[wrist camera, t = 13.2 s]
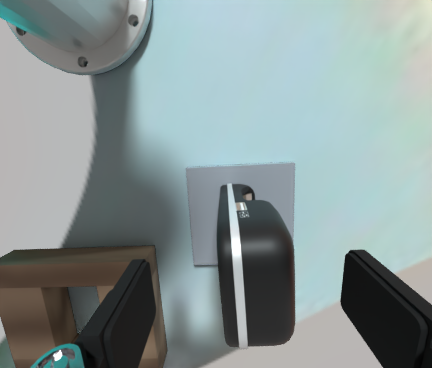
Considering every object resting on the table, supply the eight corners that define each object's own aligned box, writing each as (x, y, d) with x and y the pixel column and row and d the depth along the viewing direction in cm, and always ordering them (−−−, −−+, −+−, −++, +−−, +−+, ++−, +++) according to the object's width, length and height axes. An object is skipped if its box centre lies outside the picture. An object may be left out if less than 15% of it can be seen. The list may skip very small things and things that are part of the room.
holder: (14, 249, 24) (-16, 265, 21) (154, 245, 23) (144, 261, 20) (41, 351, 26) (19, 377, 24) (167, 350, 26) (160, 377, 23)
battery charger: (263, 247, 21) (306, 366, 10) (225, 249, 22) (226, 369, 10) (260, 178, 20) (307, 229, 9) (219, 181, 20) (214, 235, 9)
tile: (187, 166, 21) (185, 168, 20) (291, 161, 21) (294, 163, 20) (195, 259, 23) (193, 265, 22) (289, 257, 23) (292, 262, 22)
